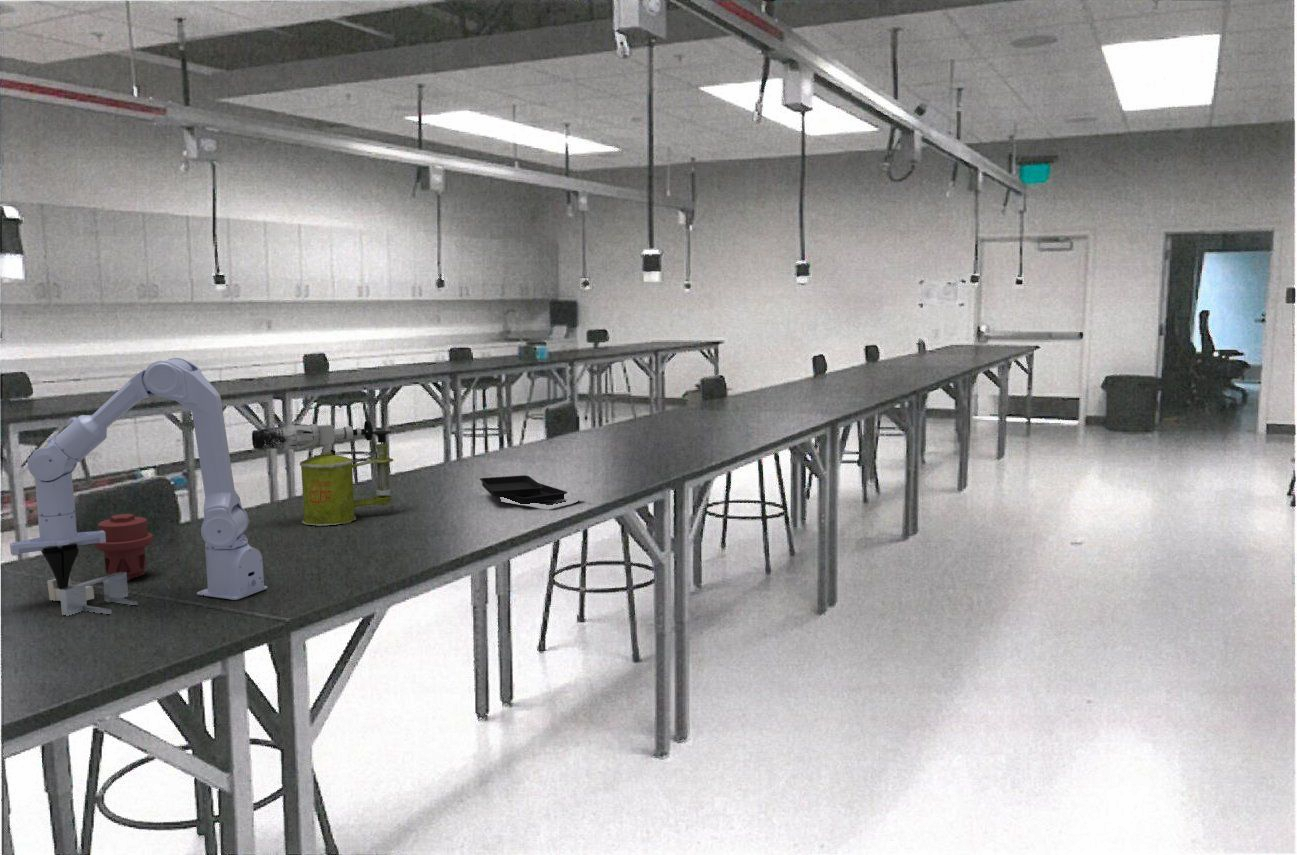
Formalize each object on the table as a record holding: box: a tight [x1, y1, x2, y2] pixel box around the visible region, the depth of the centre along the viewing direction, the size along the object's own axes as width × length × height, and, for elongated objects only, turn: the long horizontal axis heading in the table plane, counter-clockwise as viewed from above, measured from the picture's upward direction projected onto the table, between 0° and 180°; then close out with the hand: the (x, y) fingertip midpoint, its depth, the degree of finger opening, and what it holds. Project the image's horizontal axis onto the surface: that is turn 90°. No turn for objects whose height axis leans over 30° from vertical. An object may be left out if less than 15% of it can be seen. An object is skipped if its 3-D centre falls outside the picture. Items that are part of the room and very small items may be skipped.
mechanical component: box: [93, 513, 154, 582], centre depth 190 cm, size 12×10×10 cm
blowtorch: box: [251, 420, 394, 526], centre depth 239 cm, size 13×33×25 cm, turn 122°
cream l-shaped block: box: [46, 576, 95, 602], centre depth 176 cm, size 10×3×4 cm, turn 59°
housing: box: [60, 572, 138, 617], centre depth 172 cm, size 7×12×5 cm, turn 158°
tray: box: [479, 475, 569, 505], centre depth 262 cm, size 30×23×5 cm
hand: (62, 587), depth 176 cm, fingers closed, pressing on cream l-shaped block
